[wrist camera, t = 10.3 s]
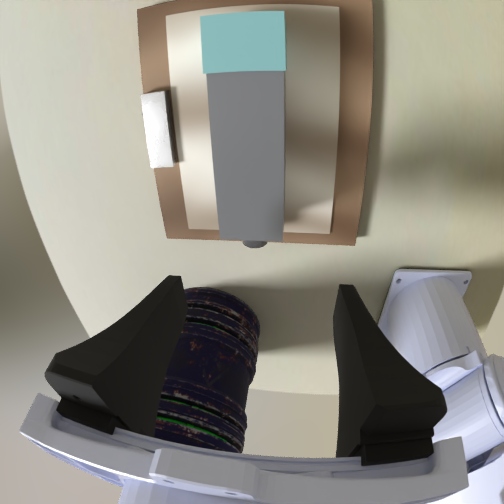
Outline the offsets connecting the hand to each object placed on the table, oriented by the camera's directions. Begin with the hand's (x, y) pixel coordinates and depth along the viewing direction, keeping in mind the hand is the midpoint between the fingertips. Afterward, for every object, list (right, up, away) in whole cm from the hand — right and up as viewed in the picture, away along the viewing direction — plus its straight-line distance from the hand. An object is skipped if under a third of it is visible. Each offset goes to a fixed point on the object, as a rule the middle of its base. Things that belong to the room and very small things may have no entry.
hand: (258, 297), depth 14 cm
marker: (0, +10, +3) cm, 10 cm away
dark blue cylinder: (-4, -5, +16) cm, 17 cm away
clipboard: (0, +10, +4) cm, 11 cm away
